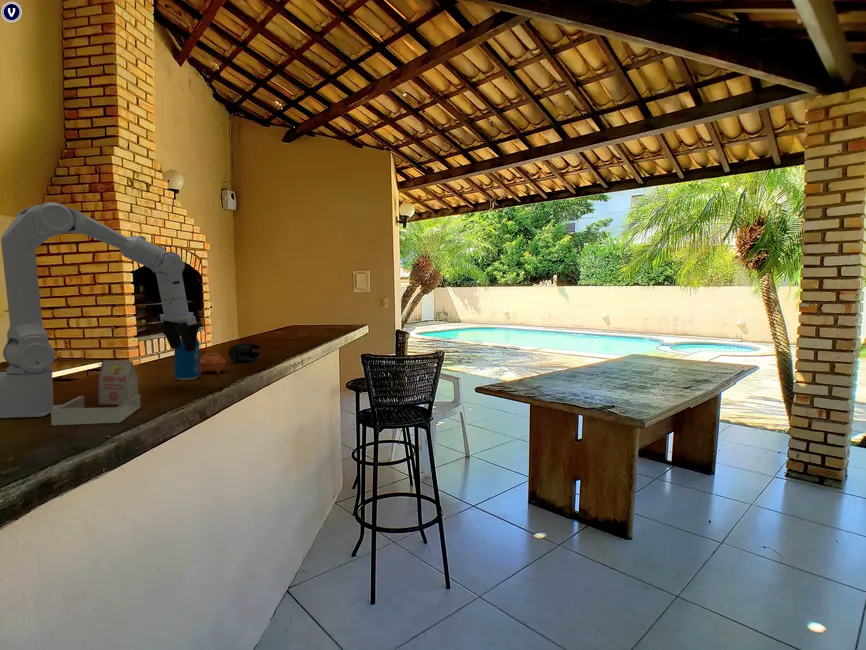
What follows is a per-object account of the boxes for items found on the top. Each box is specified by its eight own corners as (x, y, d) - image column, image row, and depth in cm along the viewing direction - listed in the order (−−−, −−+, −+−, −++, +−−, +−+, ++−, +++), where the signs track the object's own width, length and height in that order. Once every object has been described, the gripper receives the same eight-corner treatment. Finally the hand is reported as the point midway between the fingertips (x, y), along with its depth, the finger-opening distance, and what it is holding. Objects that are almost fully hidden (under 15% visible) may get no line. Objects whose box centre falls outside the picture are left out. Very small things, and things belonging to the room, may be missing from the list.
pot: (202, 369, 149) (207, 349, 149) (226, 375, 150) (231, 355, 149) (190, 373, 141) (195, 351, 141) (215, 379, 142) (221, 358, 141)
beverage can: (189, 381, 132) (188, 339, 131) (169, 380, 133) (168, 338, 132) (204, 377, 138) (204, 337, 137) (185, 376, 139) (185, 336, 138)
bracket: (51, 425, 89) (50, 410, 89) (80, 409, 101) (79, 396, 100) (119, 422, 92) (119, 407, 92) (140, 407, 104) (140, 394, 103)
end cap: (241, 359, 173) (241, 341, 172) (260, 360, 172) (260, 342, 172) (227, 363, 163) (227, 344, 162) (247, 364, 162) (247, 345, 162)
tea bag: (110, 401, 108) (109, 359, 108) (138, 402, 108) (137, 360, 107) (98, 405, 105) (97, 361, 104) (127, 406, 105) (126, 362, 104)
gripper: (203, 297, 118) (212, 348, 121) (175, 295, 127) (184, 343, 129) (176, 301, 113) (186, 355, 116) (148, 299, 121) (158, 349, 124)
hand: (183, 349), depth 122 cm, fingers open, 7 cm apart
